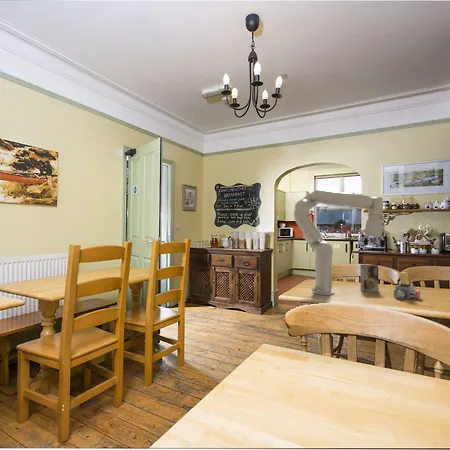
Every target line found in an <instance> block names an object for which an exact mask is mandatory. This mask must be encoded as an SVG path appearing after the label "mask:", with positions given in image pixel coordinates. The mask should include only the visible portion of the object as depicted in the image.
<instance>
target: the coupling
mask: <svg viewBox="0 0 450 450" xmlns="http://www.w3.org/2000/svg"><path fill="white" fill-rule="evenodd" d="M399 281H400V282H399V284H400V286H404V287H408V285H409V274H408V272H406V271H400V272H399Z"/></svg>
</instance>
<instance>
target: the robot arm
mask: <svg viewBox="0 0 450 450" xmlns="http://www.w3.org/2000/svg"><path fill="white" fill-rule="evenodd" d="M318 204H322V205H328V206H335V207H355V208H356V209H359V210H366V209H367V210H368V212H367V213H368V216H367V220H366V221H365V222H366V223H365V229H363V230H361V231H359V233H360V235H361V237H362V238H363V245H364V246H368V245H369V239H368V238H369V237H376V238H377V237H378V238H380V247H381V248H383V247H385V244H386V240H387V239H388V238H389V237H390V235H391V232H389V231H387V230H386V229H385V221H384V219H385V215H383V204H384V200H383V197H381V196H372V197H370V196H369V195H365V194H360V193H359V194H358V193H352V192H351V193H350V192H349V193H348V192H344V191H343V192H342V191H341V192H340V191H333V190H327V189H320V188H319V189H315V190H313V191H312V192H311V193H309V194H308V195H306V196H304V197H303V198H302V199H300V200H298V201H297V202H296V203H295V205H294V211H293V217H294V221H295V223H296V225H297V227H298V228H299V229H300V231H301V232H302V236H303V239H304V240H305V242H306V243H307V245H309V246H310V248H311V249H312V251H313V252H314V253H315V264H314V265H315V271H314V272H315V274H314V275H315V277H314V278H315V279H314V281H315V285H314V287H312V288H311V292H312V293H314V294H316V295H322V296H331V295H334V294H335V290H332V289H333V287H332V286H333V282H332V281H333V279H332V276H333V275H332V274H333V273H332V271H333V267H332V266H333V264H332V263H333V262H332V261H333V247H332V245H331V244H330V242H328V241H325V240H324V238H323V237H322V234H321V231H320V230H319V229H318V228H317V226H316V224H314V222H313V221H312V219H311V218H310V216H309V211H310V210H311V209H313V208H315V207H316V206H317V205H318Z"/></svg>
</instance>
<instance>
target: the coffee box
mask: <svg viewBox="0 0 450 450" xmlns="http://www.w3.org/2000/svg"><path fill="white" fill-rule="evenodd" d="M359 266H360V273H359V275H360V290H361V291H362V292H379V291H380V289H379V265H377V264H360V265H359Z"/></svg>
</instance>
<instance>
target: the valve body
mask: <svg viewBox="0 0 450 450" xmlns="http://www.w3.org/2000/svg"><path fill="white" fill-rule="evenodd" d="M393 297H394V298H395V299H397V300H403V299H404V300H409V301H410V300H412V299H414V298H415V300H417V301H418V300H421V291H420V290H416V289H415V286H414V285H411V284H408V287H404V286H400V283H398V284H396V285H395V289H393Z"/></svg>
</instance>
